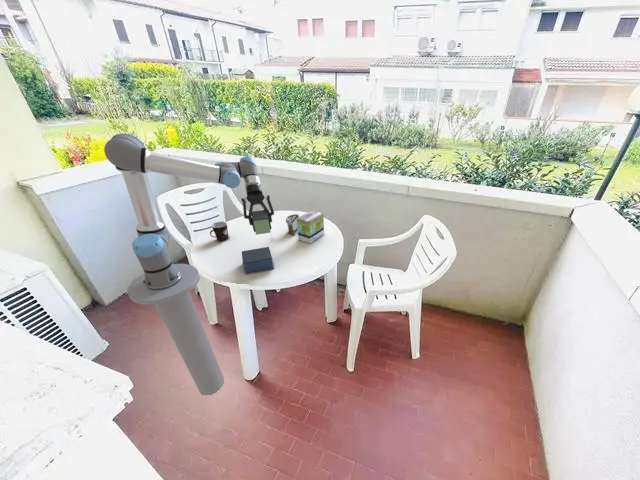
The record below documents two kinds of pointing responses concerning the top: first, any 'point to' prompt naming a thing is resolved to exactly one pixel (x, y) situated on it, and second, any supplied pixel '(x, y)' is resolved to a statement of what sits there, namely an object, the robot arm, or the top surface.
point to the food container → (292, 223)
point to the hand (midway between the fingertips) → (262, 229)
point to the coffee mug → (220, 230)
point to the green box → (261, 222)
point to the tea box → (310, 226)
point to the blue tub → (257, 260)
